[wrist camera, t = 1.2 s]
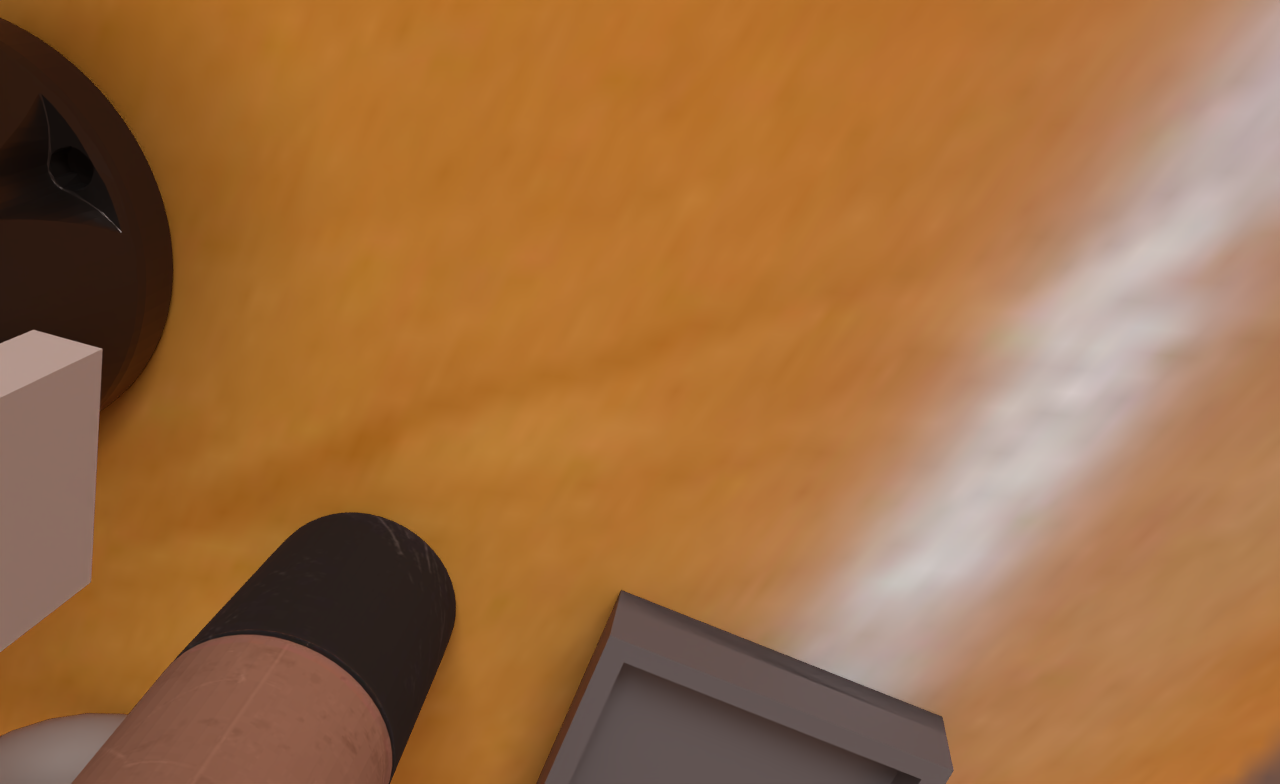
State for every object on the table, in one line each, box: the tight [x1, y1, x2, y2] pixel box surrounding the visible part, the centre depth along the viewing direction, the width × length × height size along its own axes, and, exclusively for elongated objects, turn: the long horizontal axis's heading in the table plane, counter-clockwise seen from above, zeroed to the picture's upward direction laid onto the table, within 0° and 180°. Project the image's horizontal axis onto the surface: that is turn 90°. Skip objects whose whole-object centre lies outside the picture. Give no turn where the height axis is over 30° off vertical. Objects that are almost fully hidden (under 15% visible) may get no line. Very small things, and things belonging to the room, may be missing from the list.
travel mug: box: [71, 513, 456, 784], centre depth 35 cm, size 8×8×20 cm
